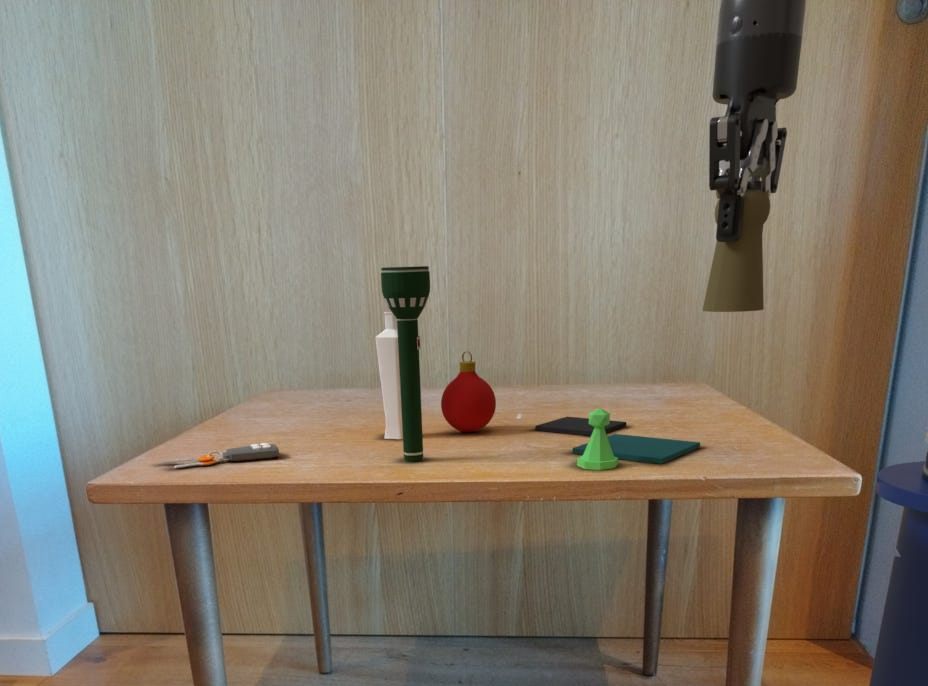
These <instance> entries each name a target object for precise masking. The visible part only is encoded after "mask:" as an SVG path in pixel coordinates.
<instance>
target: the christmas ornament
mask: <svg viewBox="0 0 928 686" xmlns="http://www.w3.org/2000/svg"><path fill="white" fill-rule="evenodd" d="M466 353H467V354H469V356H470V360H469V361H467V360H466V361H465V359H464V357H465V354H466ZM461 360H462V361H460V362H459V373H458V374H457V376H456V377H454V379H452V380H451V381H450V382H449V383H448V384H447V385H446V387H445V389H444V390H443V392H442V396H441V401H440V408H441V413H442V415H443V418H444V419H445V421H446V422H447V424H448V425H450V426H451V427H452V428H453V429H455V430H457V431H460V432H462V433H463V432H464V433H474V432H478V431H480V430H482V429H484V428H485V427H487V425H488V424H490V422H491V421H492V419H493V418H494V415H495V412H496V408H497V401H496V400H497V399H496V395H495V392H494V390H493V388H492V387H491V385H490V384H489V383H488V382H487V381H486V380H484V379H483V378H482V377H480V376H479V375H478V373H477V371H476V361H473V355H472V353H471V352H470V351H468V350H467V351H464V352H463V353H462V355H461Z"/></svg>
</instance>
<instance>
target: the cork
mask: <svg viewBox="0 0 928 686" xmlns="http://www.w3.org/2000/svg"><path fill="white" fill-rule="evenodd" d="M740 198H744V208H743V218H742V228H741V237H740V239H739V240H738V241H734V242H718V241H717V240H716V243H715V247H714V252H713V258H712V262H711V267H710V272H709V277H708V281H707V287H706V291H705V296H704V301H703V305H702V312H711V313H738V312H739V313H741V312H743V313H744V312H758V311H763V310H764V309H765V307H764V302H765V301H764V258H763V256H764V254H763V253H764V252H763V233H762V226H763V227H764V225H765V223H766V222H767V220H768V219H769V215H770V213H771V212H770V211H771V200H770V197H768V195H767V194H766V193H765V192H763V191H759V190H753V189H746V191H745V195H744V196H743V197H740ZM719 200H720V199H717V202H716V204H715V208H714V221H715V223H716V224H717V221H718V210H719Z"/></svg>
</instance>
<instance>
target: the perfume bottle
mask: <svg viewBox="0 0 928 686" xmlns="http://www.w3.org/2000/svg"><path fill="white" fill-rule="evenodd" d="M383 315H384V328H385V329H384V330H383V331H381V332H380V333H379V334H377V335H376V336H375V337H374V338H375V339H374V340H375V346H376V354H377V361H378V371H379V379H380V386H381V394H382V402H383V403H382V404H383V412H384V420H385V431H384V437H383V439H387V440H403V430H402V410H401V390H400V370H399V350H398V331H397V318H396V317H395V316H394V314H393V313H392V311H383Z"/></svg>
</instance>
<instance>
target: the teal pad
mask: <svg viewBox="0 0 928 686" xmlns="http://www.w3.org/2000/svg"><path fill="white" fill-rule="evenodd" d="M607 438H608V440H609V443H610V446H611V449H612V452H613V455H614V457H617V458H618V460H623V461H624V460H626V461H634V462H641V463H642V462H643V463H649V464H650V463H651V464H659V465H663V464H664V463H665V464H666V463H667V462H669V461H671V460H674V459H677V458H679V457H682V456H683V455H686V454H688V453H691V452H693V451H695V450H698V449H700V448H701V442H699V441H690V440H681V439H670V438H661V437H660V438H659V437H652V436H651V437H650V436H640V435H631V434H622V433H621V434H620V433H613V434H610V435H607ZM587 445H588V442H587V443H584V444H581V445H578V446H575V447H572V450H571V451H572V454H574V455H575V454H576V455H583V454H584V452H585V449H586V447H587Z"/></svg>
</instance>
